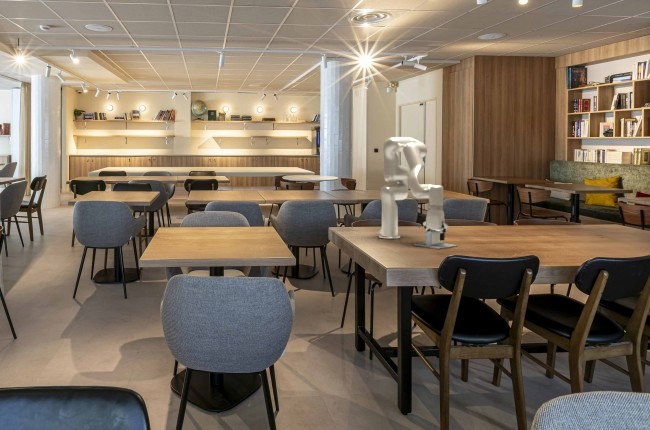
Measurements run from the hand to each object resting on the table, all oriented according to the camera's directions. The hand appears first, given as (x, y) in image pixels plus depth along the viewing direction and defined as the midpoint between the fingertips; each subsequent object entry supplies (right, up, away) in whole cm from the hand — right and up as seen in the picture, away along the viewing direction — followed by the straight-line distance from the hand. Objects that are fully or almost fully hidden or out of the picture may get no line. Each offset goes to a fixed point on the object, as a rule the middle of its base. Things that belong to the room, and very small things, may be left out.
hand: (435, 239), depth 344 cm
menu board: (0, -3, 0) cm, 3 cm away
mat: (0, -4, 0) cm, 4 cm away
